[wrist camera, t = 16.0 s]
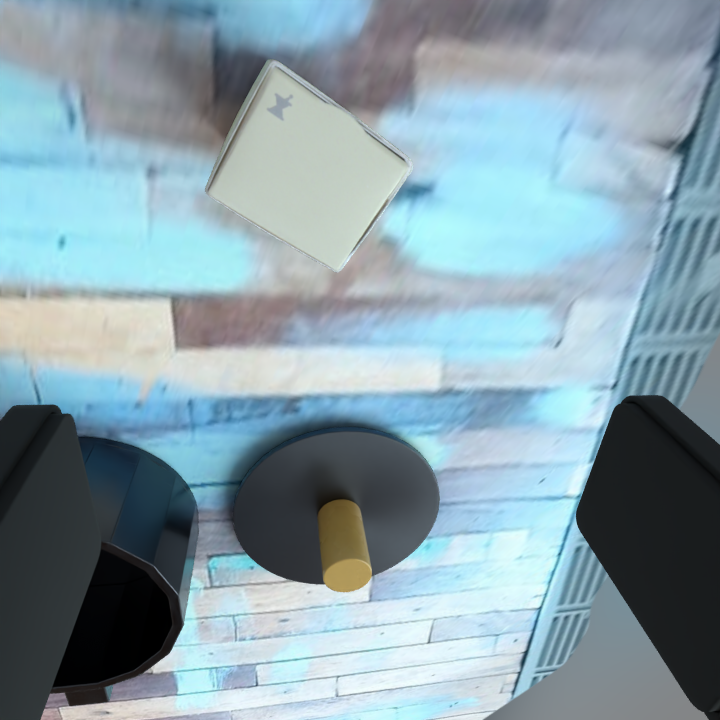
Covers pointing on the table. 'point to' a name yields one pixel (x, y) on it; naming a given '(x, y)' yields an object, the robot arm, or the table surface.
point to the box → (305, 168)
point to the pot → (130, 571)
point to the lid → (336, 506)
